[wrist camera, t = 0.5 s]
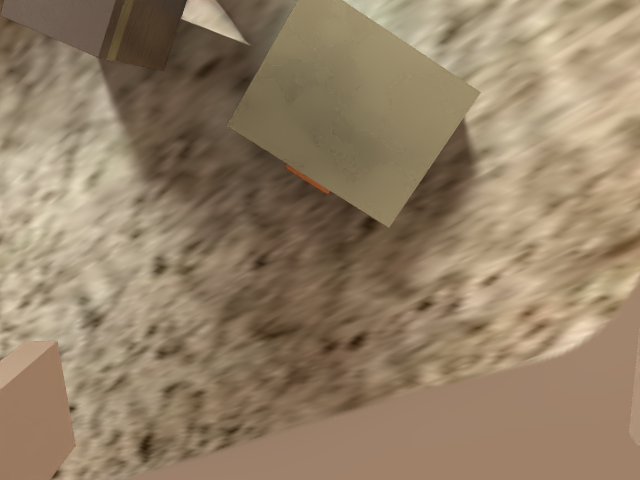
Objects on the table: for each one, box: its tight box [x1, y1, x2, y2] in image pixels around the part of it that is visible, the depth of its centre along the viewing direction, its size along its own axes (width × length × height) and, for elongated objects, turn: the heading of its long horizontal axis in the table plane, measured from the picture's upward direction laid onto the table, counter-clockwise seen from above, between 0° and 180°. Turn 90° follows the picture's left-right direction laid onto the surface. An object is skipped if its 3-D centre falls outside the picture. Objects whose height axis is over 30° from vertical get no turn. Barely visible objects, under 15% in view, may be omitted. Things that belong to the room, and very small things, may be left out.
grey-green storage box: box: [227, 0, 481, 228], centre depth 34 cm, size 11×9×6 cm
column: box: [0, 0, 187, 71], centre depth 31 cm, size 5×5×10 cm
